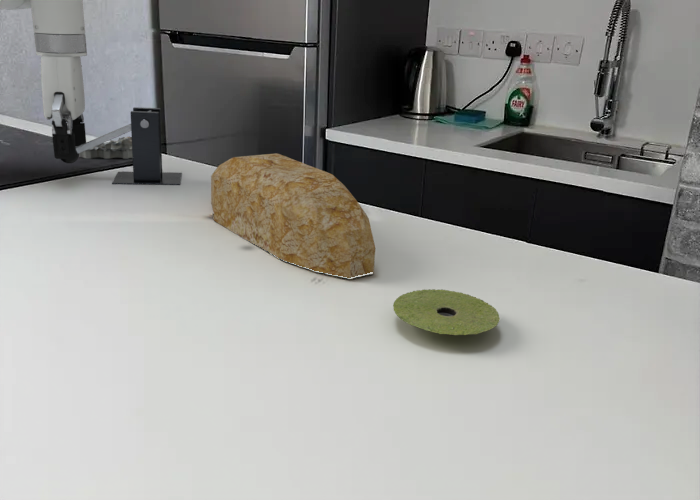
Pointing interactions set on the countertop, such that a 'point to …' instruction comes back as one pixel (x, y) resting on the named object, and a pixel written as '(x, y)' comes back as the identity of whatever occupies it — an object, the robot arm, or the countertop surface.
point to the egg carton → (110, 149)
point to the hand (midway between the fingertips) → (71, 152)
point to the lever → (99, 141)
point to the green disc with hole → (446, 312)
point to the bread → (294, 213)
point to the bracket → (147, 151)
